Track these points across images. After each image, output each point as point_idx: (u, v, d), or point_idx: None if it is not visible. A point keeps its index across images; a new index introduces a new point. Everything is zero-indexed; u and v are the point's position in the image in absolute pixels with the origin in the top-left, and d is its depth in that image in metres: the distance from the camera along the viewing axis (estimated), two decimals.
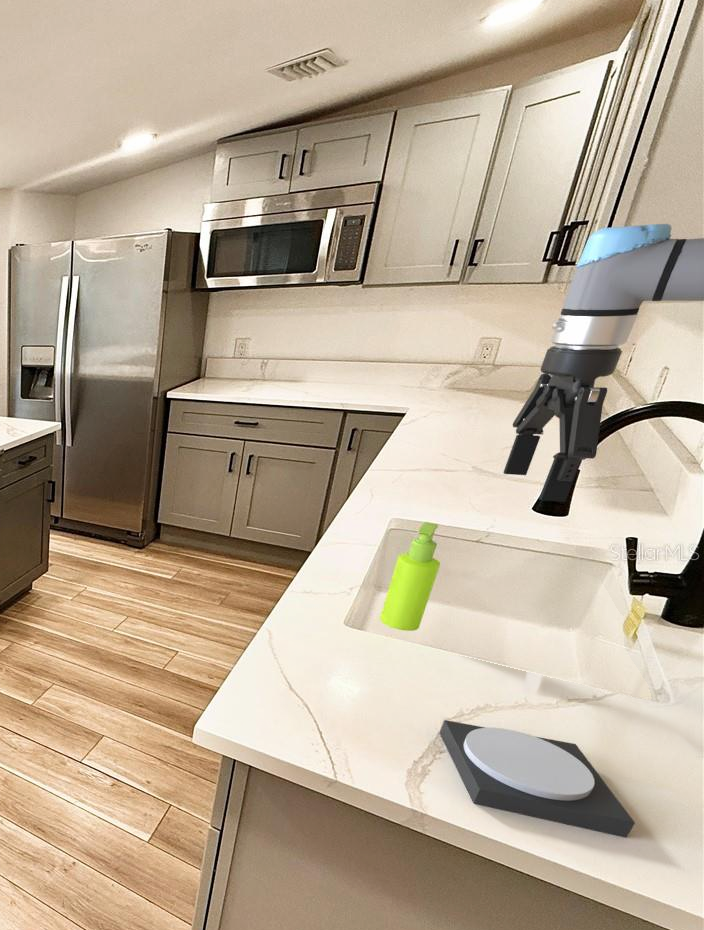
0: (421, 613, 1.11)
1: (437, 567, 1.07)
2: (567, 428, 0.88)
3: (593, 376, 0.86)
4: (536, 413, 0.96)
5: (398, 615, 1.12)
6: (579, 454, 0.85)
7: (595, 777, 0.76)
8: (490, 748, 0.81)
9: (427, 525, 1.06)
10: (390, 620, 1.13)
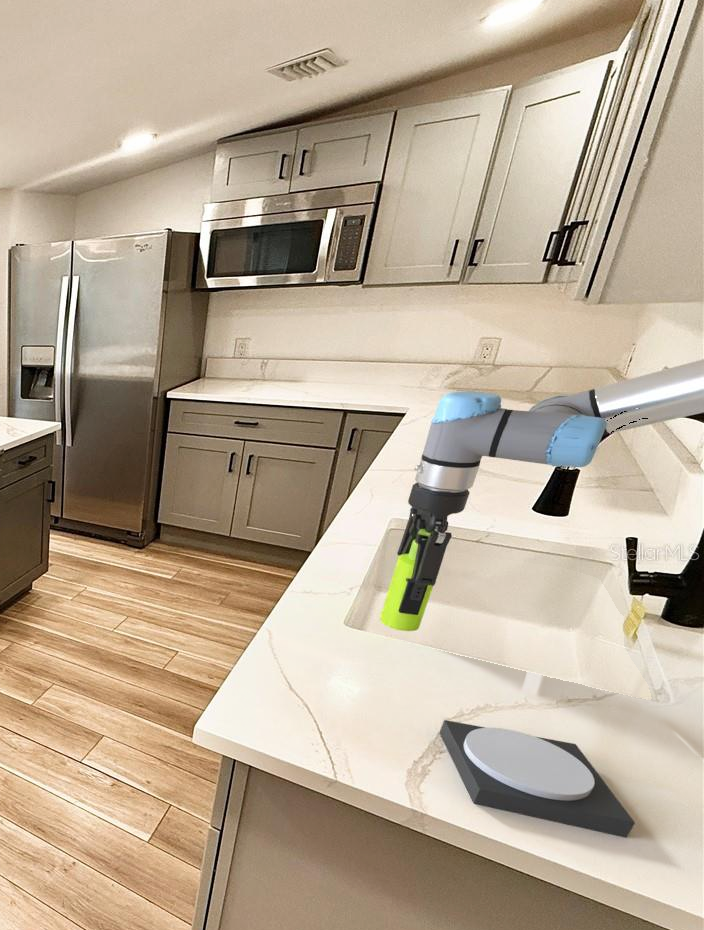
0: (421, 613, 1.11)
1: None
2: (420, 558, 1.06)
3: (445, 514, 1.02)
4: (411, 541, 1.11)
5: (398, 615, 1.12)
6: (422, 583, 1.05)
7: (595, 777, 0.76)
8: (490, 748, 0.81)
9: None
10: (390, 620, 1.13)
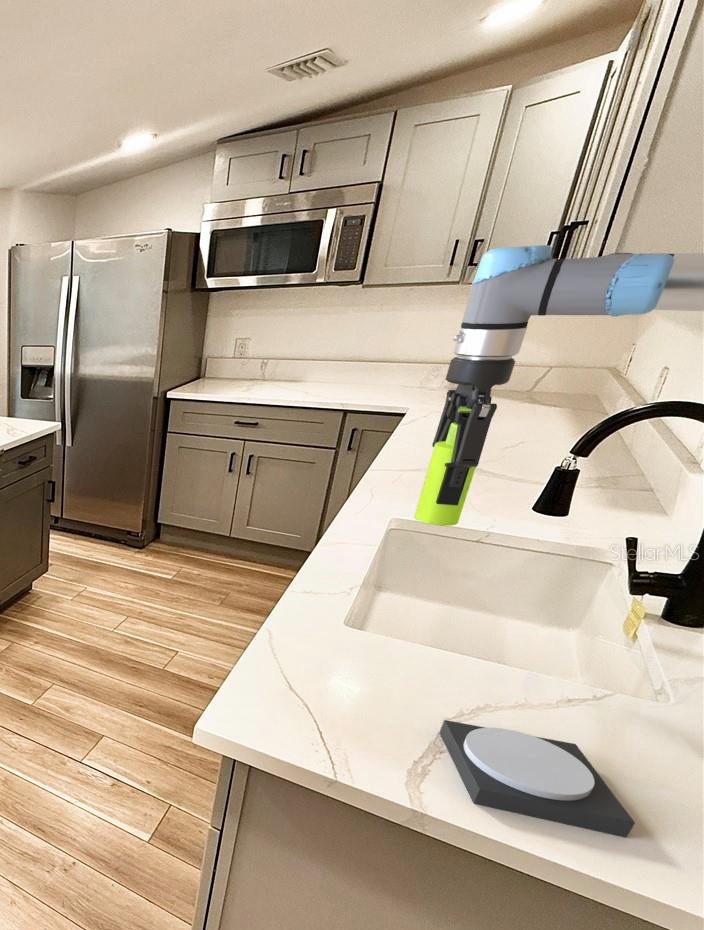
0: (461, 505, 1.02)
1: None
2: (460, 438, 0.97)
3: (489, 384, 0.93)
4: (449, 426, 1.02)
5: (435, 508, 1.03)
6: (464, 464, 0.96)
7: (595, 777, 0.76)
8: (490, 748, 0.81)
9: None
10: (426, 515, 1.04)
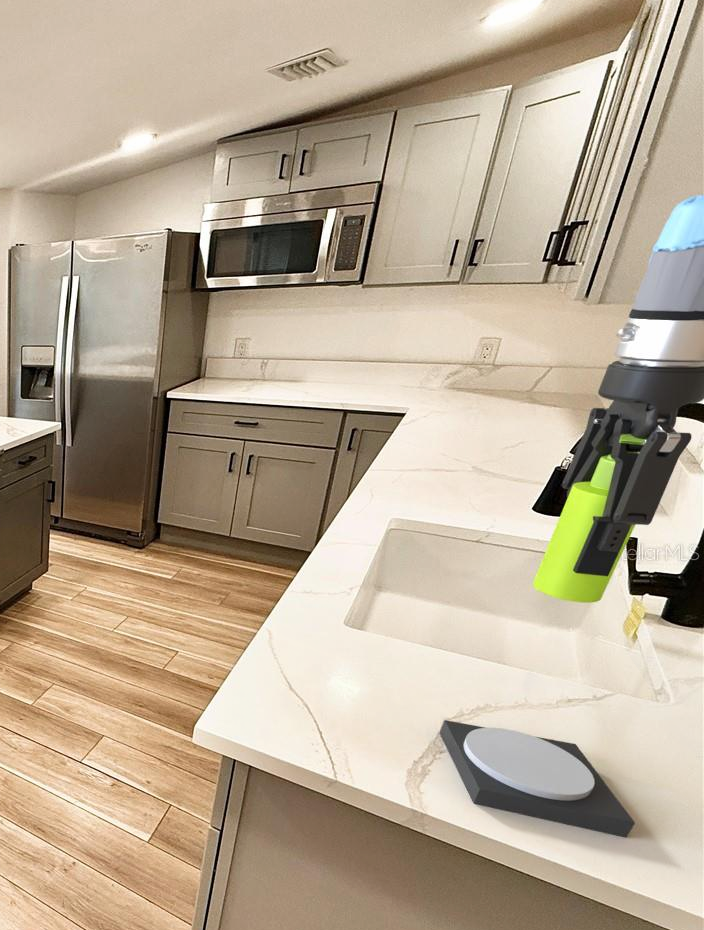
0: (610, 575, 0.71)
1: None
2: (621, 482, 0.66)
3: (676, 404, 0.62)
4: (595, 460, 0.70)
5: (570, 578, 0.72)
6: (628, 521, 0.65)
7: (595, 777, 0.76)
8: (490, 748, 0.81)
9: None
10: (555, 587, 0.73)
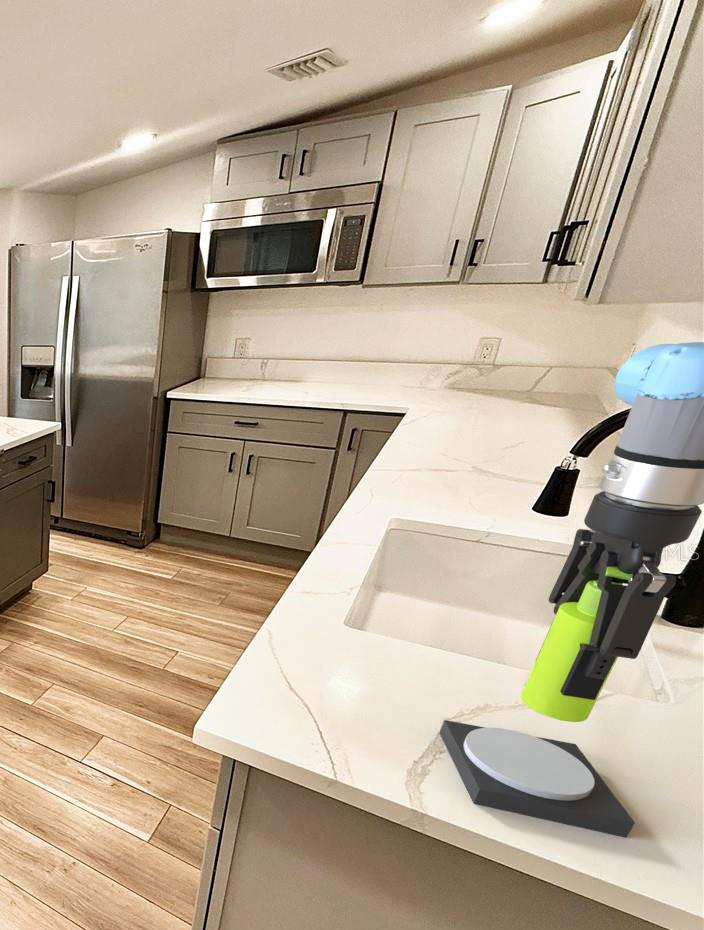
0: None
1: None
2: (607, 613, 0.66)
3: (661, 544, 0.62)
4: (581, 583, 0.71)
5: (558, 698, 0.72)
6: (614, 654, 0.65)
7: (595, 777, 0.76)
8: (490, 748, 0.81)
9: None
10: (543, 704, 0.74)
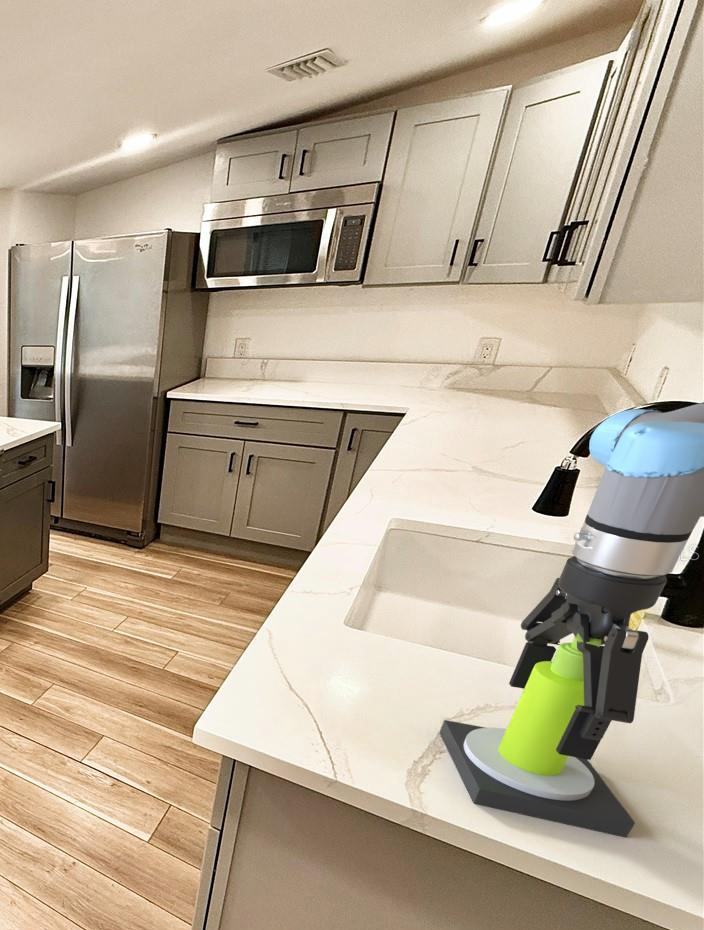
0: None
1: None
2: (594, 672, 0.67)
3: (628, 610, 0.66)
4: (552, 627, 0.75)
5: (532, 753, 0.76)
6: (611, 716, 0.65)
7: (595, 777, 0.76)
8: (490, 748, 0.81)
9: None
10: (519, 758, 0.77)
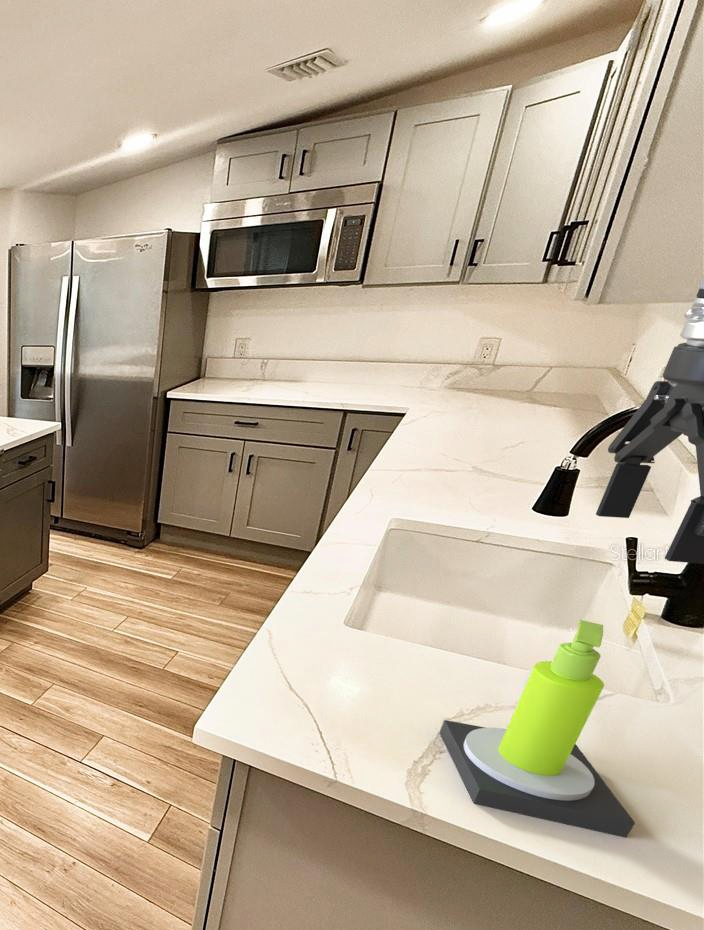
0: (569, 752, 0.75)
1: (601, 690, 0.71)
2: None
3: None
4: (650, 436, 0.69)
5: (532, 753, 0.76)
6: None
7: (595, 777, 0.76)
8: (490, 748, 0.81)
9: (588, 627, 0.70)
10: (519, 758, 0.77)
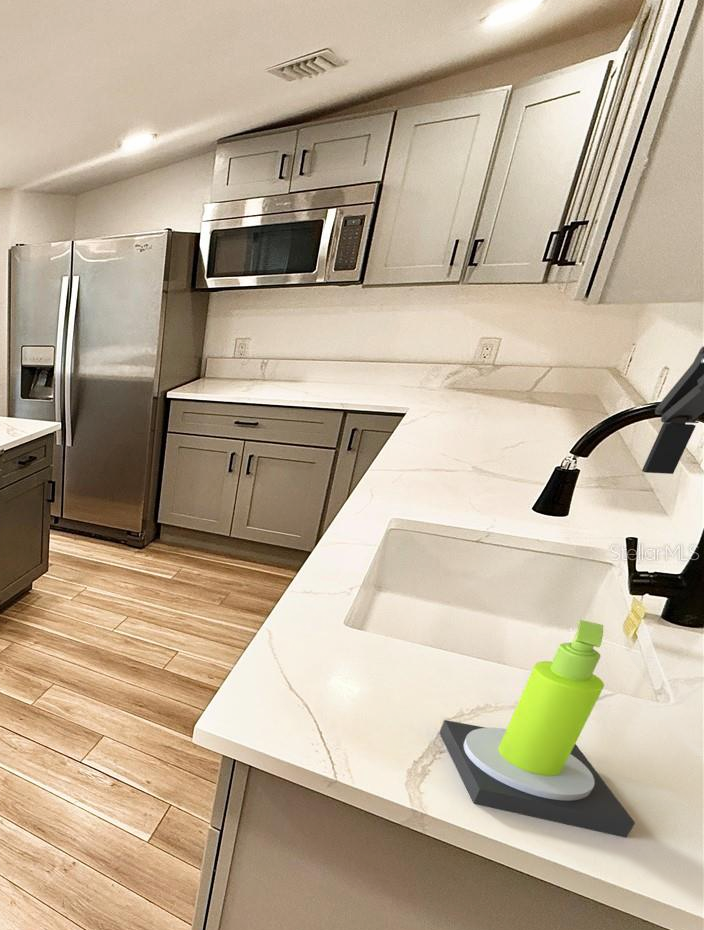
0: (569, 752, 0.75)
1: (601, 690, 0.71)
2: None
3: None
4: (696, 396, 0.76)
5: (532, 753, 0.76)
6: None
7: (595, 777, 0.76)
8: (490, 748, 0.81)
9: (588, 627, 0.70)
10: (519, 758, 0.77)
